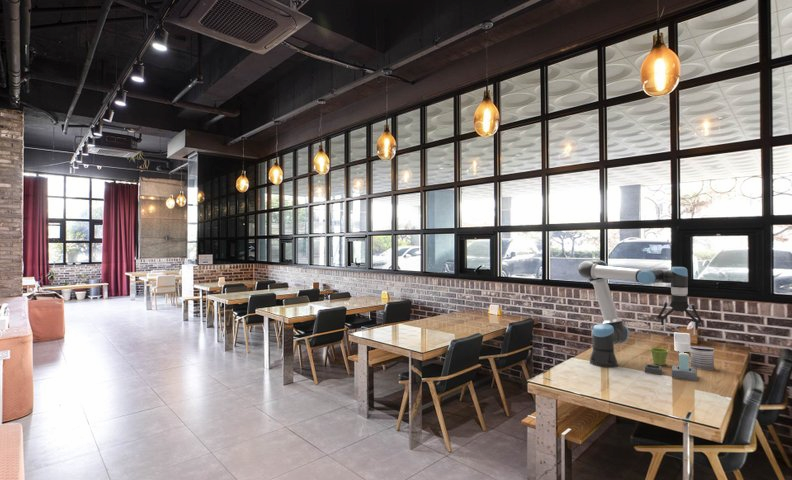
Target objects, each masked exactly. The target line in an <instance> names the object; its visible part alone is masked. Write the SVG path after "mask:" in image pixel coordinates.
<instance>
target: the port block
mask: <svg viewBox="0 0 792 480" xmlns="http://www.w3.org/2000/svg"><path fill="white" fill-rule="evenodd" d="M697 369H698V368H694V367H691V366H689V371H686V370H679V365H672V368H671V376H672V377H671V378H674V379H680V380H687V381H693V382H698V373H697Z"/></svg>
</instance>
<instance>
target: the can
mask: <svg viewBox="0 0 792 480" xmlns="http://www.w3.org/2000/svg"><path fill="white" fill-rule="evenodd" d="M714 352H715V351H714V348H713V347H707V346H701V345H700V346H697V345H690V367H691V368H697V369H698V368H699V369H698V370H704V369H705V371H712V370H714V369H715V355H714Z"/></svg>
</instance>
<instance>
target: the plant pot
mask: <svg viewBox="0 0 792 480" xmlns="http://www.w3.org/2000/svg"><path fill="white" fill-rule="evenodd" d="M649 349H650V353H651V356H652V363H653V365H657V366H665V365H666V363H667V356H668V352H669V350H668V349H665V348H661V347H652V348H651V347H650V348H649Z"/></svg>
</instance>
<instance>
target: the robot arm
mask: <svg viewBox="0 0 792 480" xmlns="http://www.w3.org/2000/svg"><path fill="white" fill-rule="evenodd" d="M577 271H578V273H579V276H581V277H583V279H588V280H589V281H588V282H589V283H590V284H592V285H593V288H594V293H595V295H596V299H597V302H598V307H599V309H600V313H601V315H602V319H603V321H602V323H599V324H595V325H594V326H592V331H591V333H592V351H591V355H590V357H589V364H592V365H593V366H597V367H603V368H615V367H617V366H618V359H617V357H616V353H615V346H614V345H618V344H623V343H625V342H626V341H628V339H629V337H630V330H629V328H628V327H627V326H626V325H625V324H623V320H622V319H620V318H619V316H618V312H617V309H616V305H615V304H614V299H613V297H612V292H611V290H610V286H609V283H608V281H609V280H617V281H623V282H632V283H633V282H634V283H639V284H642V285H651V284H659V283H660V284H661V283H662V284H663V283H664V284H670V291H671V292H670V294H671V295H670V302H666V301H665V302H664V304H663V307H662V309H661V311H660V312H659V313H658V315H657V319H660V320H661V322H660V325H661V326H663V332H664V333H665V332H666V323H667V322H666V320H667V319H666V318H667V317H668V316H669V315H670V314H671V313H673V312H674V311H675V312H679V313H683V312H685V313H686V315H688V316H689V317H690V318H691V320H693V336H696V330H697V329H698V328H699V324H700V323H702V322H703V319H702V318H701V316H700V314H699V313H698V311H697V310H696V307H695V304H694V303H692V304H689V303H688V301H689V300H688V297H689V296H688V293H689V292H688V291H689V290H688V285H689V284H688V280H689V275H688V274H689V273H688V269H687V268H686V267H684V266H671V269H660V268H659V269H658V268H654V269H653V268H650V269H648V270H647V269H638V268H629V267H627V268H626V267H618V266H617V267H616V266H609V264H608V263H606V262H605V261H604V260H599V259H596V260H595V259H594V260H593V259H592V260H584V261H582V262H581V263H579V265H578V267H577ZM669 306H670V307H671V308H670V309H669V310H668V311H667V312H665V310H666V309H667V307H669ZM688 308H690V310H691V309H692V311H693V313H694V314H695V316H696V317H695V316H694V315H693V314H692V313H691V312H690V311H689V310H688ZM664 312H665V314H664V315H663V313H664ZM662 315H663V316H662ZM696 318H697V319H696Z"/></svg>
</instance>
